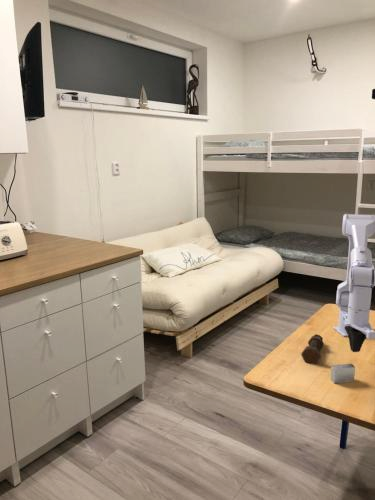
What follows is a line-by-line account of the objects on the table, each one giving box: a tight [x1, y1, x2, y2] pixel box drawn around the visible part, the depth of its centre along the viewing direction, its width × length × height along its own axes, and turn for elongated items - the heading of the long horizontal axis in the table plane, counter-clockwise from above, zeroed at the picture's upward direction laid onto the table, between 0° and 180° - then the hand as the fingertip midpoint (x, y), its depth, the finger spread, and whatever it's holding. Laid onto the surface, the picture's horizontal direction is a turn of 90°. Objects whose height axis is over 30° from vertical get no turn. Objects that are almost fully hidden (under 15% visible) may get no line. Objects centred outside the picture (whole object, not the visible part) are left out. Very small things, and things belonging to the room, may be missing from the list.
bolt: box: [300, 333, 324, 365], centre depth 132 cm, size 6×5×15 cm
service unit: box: [330, 363, 356, 384], centre depth 116 cm, size 6×2×4 cm, turn 98°
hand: (355, 350), depth 120 cm, fingers closed
